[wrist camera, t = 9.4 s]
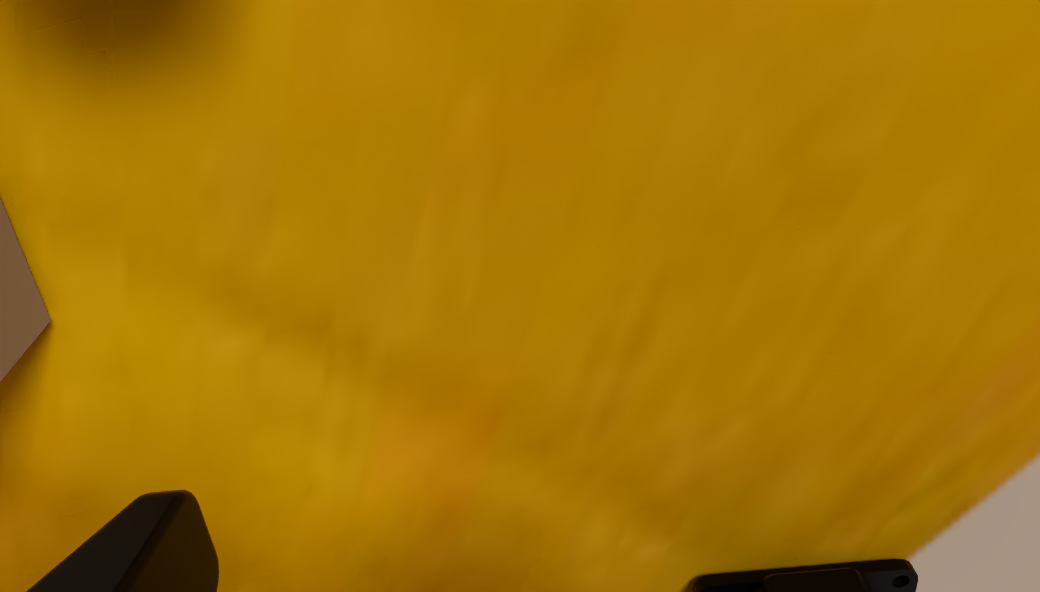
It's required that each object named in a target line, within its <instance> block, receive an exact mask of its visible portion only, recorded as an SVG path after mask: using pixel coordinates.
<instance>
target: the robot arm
mask: <svg viewBox="0 0 1040 592" xmlns="http://www.w3.org/2000/svg"><path fill="white" fill-rule="evenodd" d="M218 578H219V566H218V558H217V554H216V551H215V548H214V545H213V543H212V540H211V537H210V534H209V531H208V529H207V526H206V523H205V520H204V517H203V515H202V512H201V509H200V506H199V504H198V501H197V500H196V498H195V496H194V495H193V494H192V493H191V492H189V491H186V490H174V491H163V492H151V493H147V494H143V495H141V496H139V497H138V498H137V499H135V500H134V501H133V502H132V503H130V504H129V505H128V506H127V507H126V508H125V509H123V510H122V511H121V512H120V513H119V514H117V515H116V516H115V517H114V518H113V519H112V520H110V521H109V522H108V523H107V524H106V525H104V526H103V527H102V528H101V529H100V530H99V531H97V532H96V533H95V534H94V535H93V536H91V537H90V538H89V539H88V540H87V541H86V542H84V543H83V544H82V545H81V546H80V547H78V548H77V549H76V550H75V551H74V552H73V553H71V554H70V555H69V556H68V557H67V558H65V559H64V560H63V561H62V562H61V563H60V564H58V565H57V566H56V567H55V568H54V569H52V570H51V571H50V572H49V573H48V574H47V575H45V576H44V577H43V578H42V579H41V580H39V581H38V582H37V583H36V584H35V585H34V586H32V587H31V588H30V589H29V590H28V591H26V592H217V586H218ZM917 582H918V575H917V573H916V572H915V570H914V568H913V566H912V565H911V563H910V562H909V561H907V560H904V559H891V560H879V561H867V562H856V563H844V564H832V565H821V566H809V567H797V568H785V569H774V570H762V571H750V572H738V573H727V574H715V575H708V576H704V577H702V578H700V579H698V580H697V581H696V582H695V583H694V587H693V592H713V591H714V592H915V591H916V587H917Z"/></svg>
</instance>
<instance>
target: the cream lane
mask: <svg viewBox="0 0 1040 592" xmlns="http://www.w3.org/2000/svg"><path fill="white" fill-rule="evenodd" d="M50 321H51V319H50V317H49V314H48V312H47V309H46V307H45V305H44V302H43V300H42V297H41V295H40V293H39V290H38V288H37V285H36V283H35V281H34V278H33V276H32V273H31V271H30V268H29V266H28V264H27V261H26V259H25V256H24V254H23V252H22V249H21V247H20V244H19V242H18V240H17V237H16V235H15V232H14V230H13V228H12V225H11V223H10V220H9V218H8V216H7V213H6V211H5V208H4V206H3V204H2V201H1V199H0V381H1V380H2V379H3V378H4V377H5V375H6V374H7V373H8V372H9V370H10V369H11V368H12V367H13V366H14V364H15V363H16V362H17V361H18V360H19V358H20V357H21V356H22V355H23V354H24V352H25V351H26V350H27V349H28V348H29V346H30V345H31V344H32V343H33V341H34V340H35V339H36V338H37V337H38V335H39V334H40V333H41V332H42V331H43V329H44V328H45V327H46V326H47V325H48V323H49V322H50Z"/></svg>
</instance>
